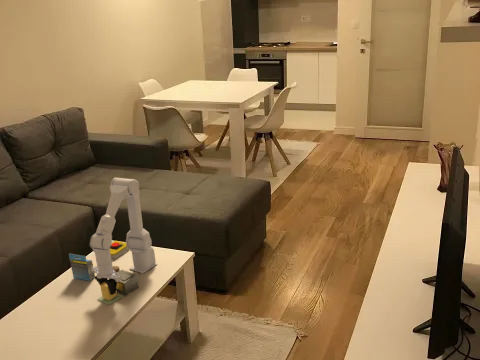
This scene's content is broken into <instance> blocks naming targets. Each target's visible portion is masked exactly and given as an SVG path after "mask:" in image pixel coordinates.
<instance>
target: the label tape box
mask: <svg viewBox="0 0 480 360" xmlns="http://www.w3.org/2000/svg"><path fill="white" fill-rule="evenodd" d="M68 257H69V259H68V260H69V262H70V263H69V264H70V266H71V272H72V276H73V279H75V280H83V281H89V282H91V281H92V280H93V279H95V276H96V273H93V272H92V268H94V265H93V260H92V259H87V256H86V255H80V254H74V253H69V254H68Z"/></svg>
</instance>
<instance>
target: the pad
mask: <svg viewBox="0 0 480 360" xmlns="http://www.w3.org/2000/svg"><path fill="white" fill-rule="evenodd" d="M116 293H117V296H115V297H114V298H112V299H111V300H107V299H105V298H103V297H102V296H100V297H99V298H97V301H99V302H101V303H104V304H106V305H108V306H111V305H112V304H114V303H115V302H117V301H118V300H120V299H121V298H123V297H124V295H123V294H120V293H118V292H116Z"/></svg>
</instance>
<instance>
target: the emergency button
mask: <svg viewBox="0 0 480 360" xmlns="http://www.w3.org/2000/svg"><path fill="white" fill-rule="evenodd" d="M128 251H130V248H128V247H127V245H126V241H120V240H119V241H118V240H114V241H112V244H111V246H110V254H111V260H112V262H114V261H115V260H117V259H118V258H120V257H121V256H123V255H124V254H125V253H127V252H128Z"/></svg>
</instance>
